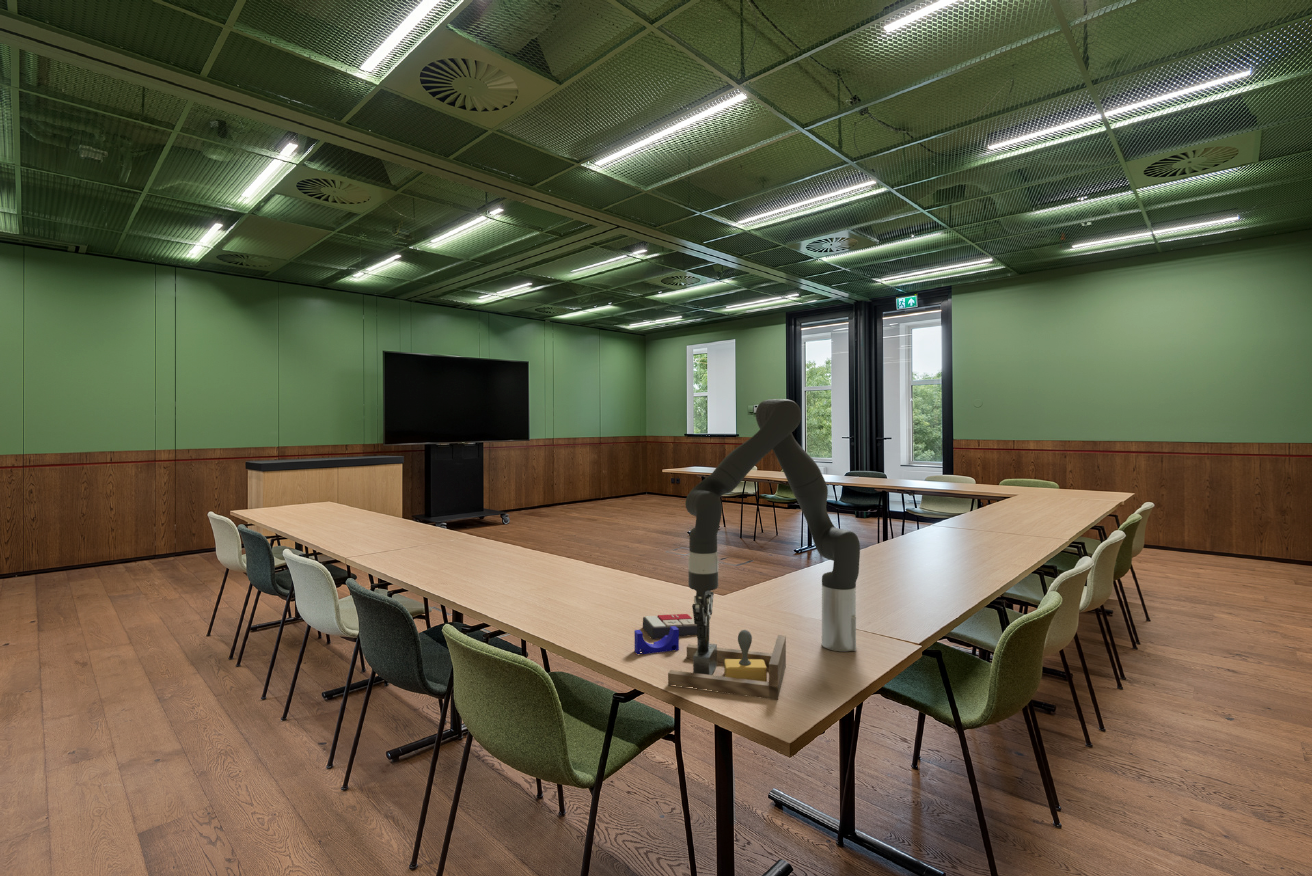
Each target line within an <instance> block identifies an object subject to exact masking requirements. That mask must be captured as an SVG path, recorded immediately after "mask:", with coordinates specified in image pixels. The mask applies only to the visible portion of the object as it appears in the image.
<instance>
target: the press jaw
mask: <svg viewBox="0 0 1312 876" xmlns="http://www.w3.org/2000/svg"><path fill="white" fill-rule="evenodd" d="M699 620H702V619H701V618H699ZM696 639H697V638H696ZM696 642H697V644H696V645H697V651H696V652H695V654H694V655H693V659H692V660H693V661H692V662H693V663H692V664H693V665H692V673H699V674H707V675H714V671H715V670H716V667H717V666H718V662H717V648H718V644H715V643H710V620H709V615H707V624H706V639H705V640H699V639H697V641H696Z"/></svg>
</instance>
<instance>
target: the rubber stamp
mask: <svg viewBox="0 0 1312 876" xmlns="http://www.w3.org/2000/svg"><path fill="white" fill-rule="evenodd" d="M737 642H738V646H739V648H740V650H741V651H742V659H725V660H724V662H723V663H724V665H723V666H724V667H723V669H724V670H723V672H724V677H731V678H739V679H748V680H756V681H764V682H768V680H767V679H768V677H767V675H768V672H767V671H768V667H766V665H765V662H764V660H762V659H748V657H747V655H748V651H750V648H751V645H752V642H753V636H752V633H751V632H750V631H749V630H747V629H743V630H740V631H739V633H738V635H737Z"/></svg>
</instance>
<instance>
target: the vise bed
mask: <svg viewBox="0 0 1312 876" xmlns="http://www.w3.org/2000/svg"><path fill="white" fill-rule="evenodd" d="M786 640H787V636H786V635H781V634H778V635H777V637H776V641H775V644H774V647H773V650H772V652H762V651H754V650H753V651H752V650H749V651H748V655H747V657H748V659H762V660H764V662H765V665H766V668H768V681H767V682H764V681H756V680H748V679H739V678H731V677H725V676H723V675H715V674H712V675H707V674H699V673H693V672H692V671H691V672H688V671H682V670H681V671H680V670H673V669H670V670H669V671H668V673H667V686H668V685H676V686H682V687H693V688H697V689H696V690H698V689H707V690H712V691H711V692H713V691H718V692H717V693H721V694H722V693H723V694H728V693H730V694H729V695H737V696H744V695H747V696H746V697H752V698H759V697H761V698H762V699H768V700H776V701H778V700H779V697H780V692H781V688H782V683H783V680H784V675H785V673H786V672H785V671H786V667H787V660H786V659H787V654H786V653H787V644H786V643H787V641H786ZM696 651H697V644H690V643H689V644H688V645H687V646H686V659H691V660H693V655H694V654H695V652H696ZM725 659H742V651H741V649H733V648H727V647H725V648H724V647H717V663H724V660H725ZM682 687H681V688H682Z"/></svg>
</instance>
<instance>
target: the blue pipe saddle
mask: <svg viewBox="0 0 1312 876" xmlns="http://www.w3.org/2000/svg"><path fill="white" fill-rule="evenodd" d="M633 634H634V652H635V654H636V653H637V654H642V655H649V654H657V652H658V653H665V652H673V651H672V650H675V651H680V637H679V629H678V628H677V627H676V626H670V632H669V634H668V635H666V636H664V637H663V638H662V639H658V640H657V641H653V643H650V642H647V641H646V640H645V639H644V638H645V637H644V636H643V632H642V631H641V629H635V630H634V633H633ZM640 652H642V653H640ZM637 654H636V655H637Z"/></svg>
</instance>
